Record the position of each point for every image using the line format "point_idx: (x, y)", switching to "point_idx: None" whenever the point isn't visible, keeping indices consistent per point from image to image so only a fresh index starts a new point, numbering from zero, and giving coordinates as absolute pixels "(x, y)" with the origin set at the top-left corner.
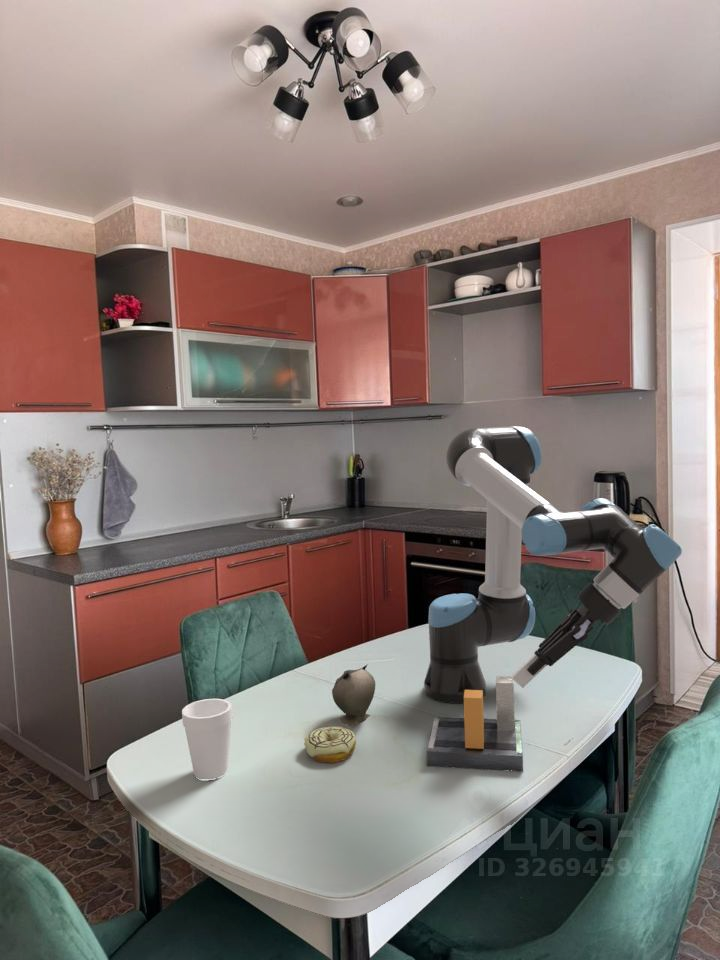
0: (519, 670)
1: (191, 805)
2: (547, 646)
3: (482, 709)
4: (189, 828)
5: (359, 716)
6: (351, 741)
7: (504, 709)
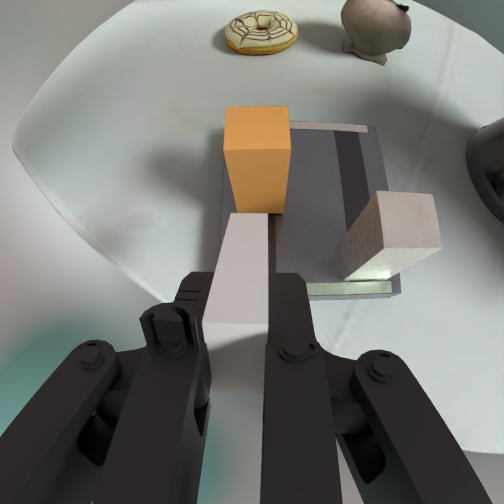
0: (232, 234)
1: (149, 3)
2: (140, 428)
3: (227, 168)
4: (117, 17)
5: (358, 48)
6: (252, 41)
7: (355, 243)
